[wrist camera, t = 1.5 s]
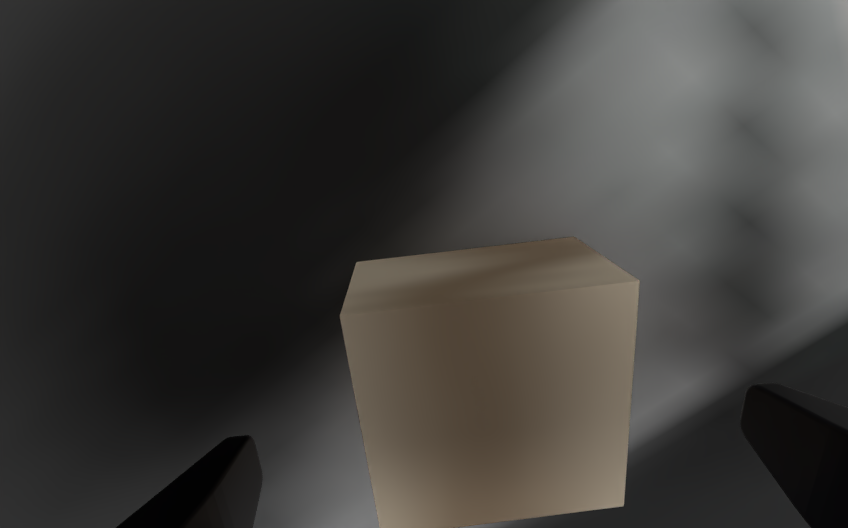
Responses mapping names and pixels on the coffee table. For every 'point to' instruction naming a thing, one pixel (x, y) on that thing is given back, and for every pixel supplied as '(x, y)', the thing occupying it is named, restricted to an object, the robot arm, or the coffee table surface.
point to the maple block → (492, 381)
